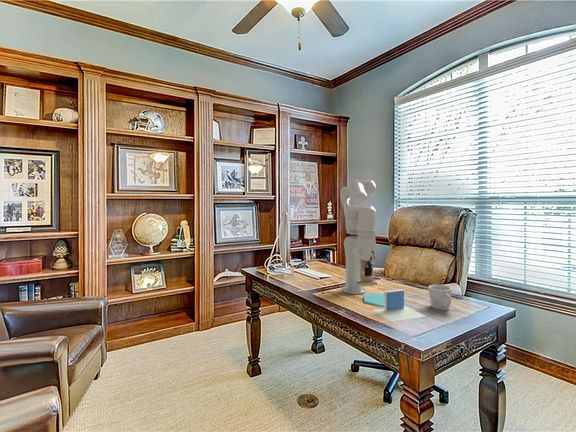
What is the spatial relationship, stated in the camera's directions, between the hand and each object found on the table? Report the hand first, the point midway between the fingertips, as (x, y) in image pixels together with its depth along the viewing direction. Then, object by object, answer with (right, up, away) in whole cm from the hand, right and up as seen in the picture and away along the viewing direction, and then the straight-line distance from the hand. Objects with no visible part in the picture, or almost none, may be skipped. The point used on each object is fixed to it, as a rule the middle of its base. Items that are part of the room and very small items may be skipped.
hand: (366, 274), depth 146 cm
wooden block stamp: (0, -4, 0) cm, 4 cm away
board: (+15, -18, +1) cm, 24 cm away
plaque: (+12, -18, +20) cm, 30 cm away
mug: (+37, -18, +6) cm, 42 cm away
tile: (+14, -17, +6) cm, 23 cm away
